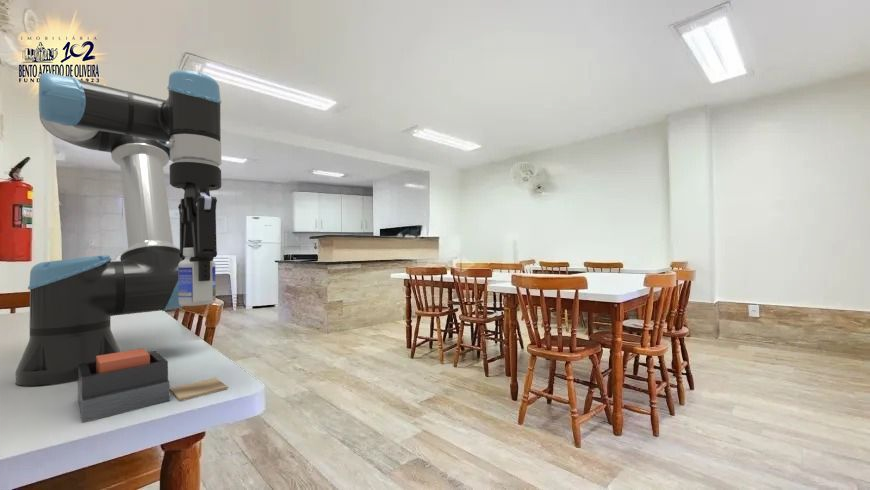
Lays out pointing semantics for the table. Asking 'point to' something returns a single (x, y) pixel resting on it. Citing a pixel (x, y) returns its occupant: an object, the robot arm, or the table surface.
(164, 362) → the grey square tray
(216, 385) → the coaster
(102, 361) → the orange block
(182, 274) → the pill bottle
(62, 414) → the table surface
